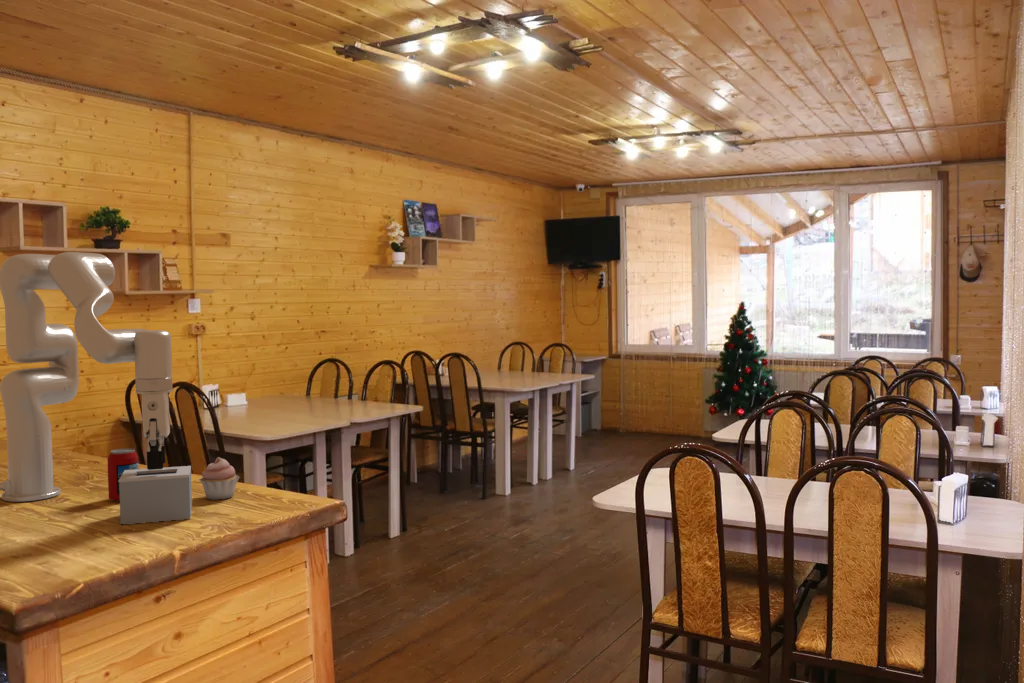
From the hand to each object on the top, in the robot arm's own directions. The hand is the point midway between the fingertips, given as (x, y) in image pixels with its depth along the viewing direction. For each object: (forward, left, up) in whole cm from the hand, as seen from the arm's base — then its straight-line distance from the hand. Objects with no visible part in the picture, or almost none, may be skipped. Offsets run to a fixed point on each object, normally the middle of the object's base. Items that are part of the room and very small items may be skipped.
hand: (156, 465), depth 182 cm
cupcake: (+13, +14, -12) cm, 22 cm away
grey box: (0, 0, -11) cm, 11 cm away
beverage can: (-9, +20, -12) cm, 25 cm away
